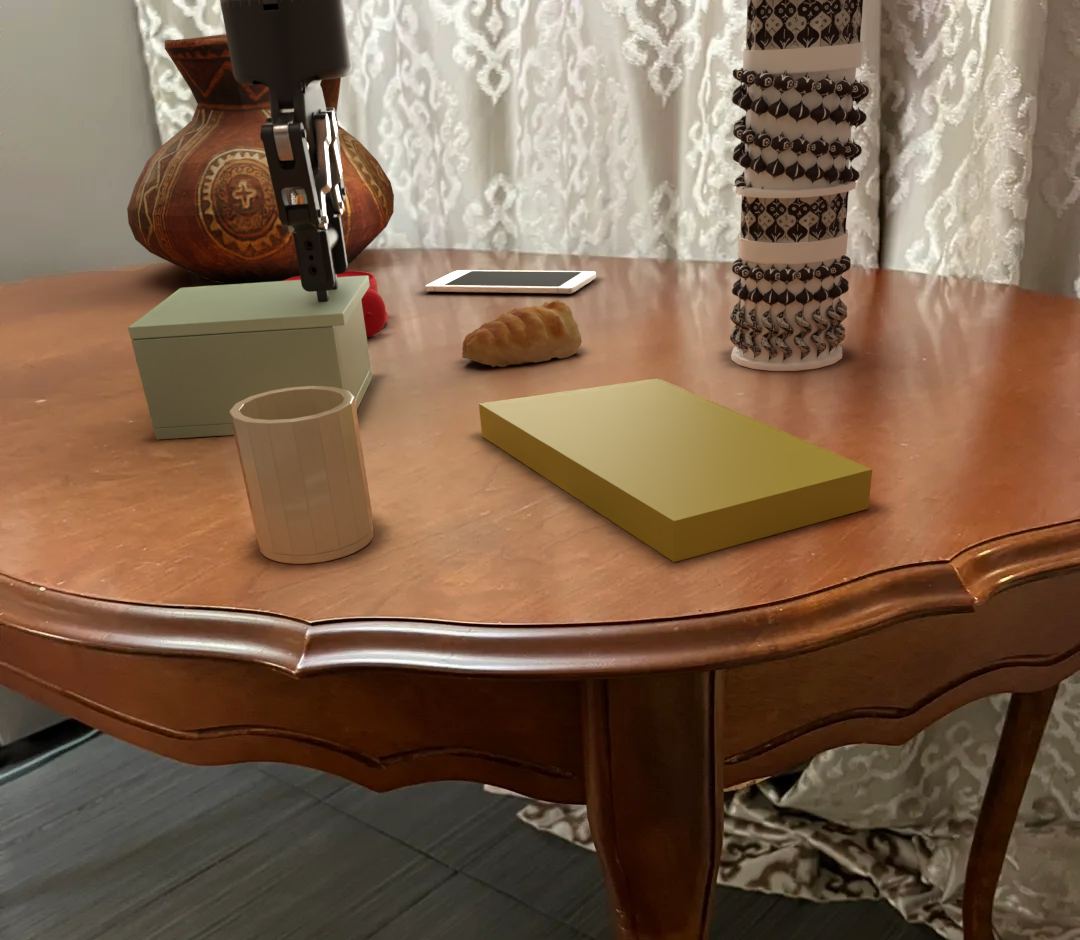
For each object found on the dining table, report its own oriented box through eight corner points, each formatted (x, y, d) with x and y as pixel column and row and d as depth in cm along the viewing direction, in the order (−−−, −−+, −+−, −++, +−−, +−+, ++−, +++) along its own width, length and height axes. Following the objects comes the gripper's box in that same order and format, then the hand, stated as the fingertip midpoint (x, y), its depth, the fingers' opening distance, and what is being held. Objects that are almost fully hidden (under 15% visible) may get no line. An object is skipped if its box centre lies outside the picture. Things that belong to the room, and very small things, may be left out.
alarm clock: (376, 267, 108) (386, 255, 94) (386, 335, 110) (397, 333, 96) (267, 279, 106) (261, 268, 92) (280, 348, 108) (275, 347, 94)
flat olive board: (868, 508, 60) (640, 401, 78) (872, 469, 58) (639, 370, 77) (674, 562, 55) (482, 436, 74) (674, 520, 54) (478, 403, 73)
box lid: (370, 286, 84) (359, 211, 82) (344, 325, 74) (332, 241, 71) (182, 298, 85) (166, 224, 82) (130, 339, 74) (109, 256, 71)
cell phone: (456, 276, 120) (455, 269, 120) (597, 277, 115) (597, 271, 114) (424, 292, 114) (423, 285, 114) (571, 294, 109) (571, 287, 108)
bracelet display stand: (703, 352, 88) (708, -28, 75) (803, 334, 91) (826, -36, 77) (765, 379, 81) (782, -37, 67) (872, 359, 83) (910, -45, 70)
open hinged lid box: (372, 377, 88) (359, 287, 84) (348, 428, 77) (333, 326, 74) (202, 388, 88) (182, 299, 85) (156, 439, 78) (130, 340, 74)
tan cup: (248, 567, 58) (216, 426, 54) (272, 521, 63) (245, 389, 59) (366, 560, 58) (343, 418, 54) (380, 515, 63) (361, 382, 59)
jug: (315, 300, 115) (268, 13, 101) (83, 296, 125) (13, 34, 112) (439, 245, 138) (414, 6, 125) (235, 245, 148) (192, 24, 135)
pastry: (486, 376, 86) (481, 325, 84) (448, 360, 91) (443, 311, 89) (589, 354, 90) (587, 304, 88) (547, 339, 95) (544, 292, 93)
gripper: (247, -1, 75) (293, 265, 84) (190, -4, 63) (250, 308, 72) (357, -10, 75) (391, 259, 84) (321, -15, 63) (365, 300, 72)
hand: (326, 280), depth 78 cm, fingers closed on box lid, 5 cm apart
